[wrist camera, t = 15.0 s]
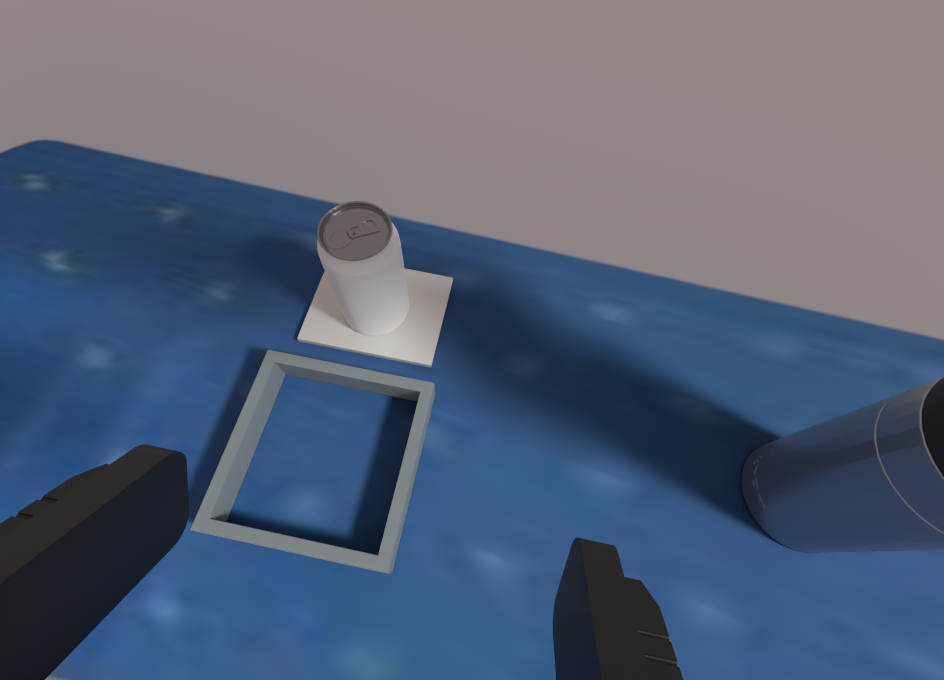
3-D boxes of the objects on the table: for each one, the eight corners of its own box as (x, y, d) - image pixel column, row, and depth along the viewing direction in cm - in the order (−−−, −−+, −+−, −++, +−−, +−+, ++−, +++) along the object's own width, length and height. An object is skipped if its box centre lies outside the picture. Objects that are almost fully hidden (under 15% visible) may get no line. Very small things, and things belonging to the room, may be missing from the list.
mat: (453, 280, 48) (453, 277, 48) (431, 367, 44) (430, 365, 43) (332, 257, 49) (331, 254, 48) (298, 341, 44) (297, 338, 44)
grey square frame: (435, 394, 43) (434, 383, 40) (392, 572, 36) (387, 573, 34) (279, 362, 43) (268, 349, 41) (209, 532, 37) (190, 530, 34)
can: (333, 295, 46) (298, 214, 35) (393, 271, 48) (376, 185, 37) (359, 348, 44) (330, 278, 33) (420, 320, 45) (412, 244, 35)
